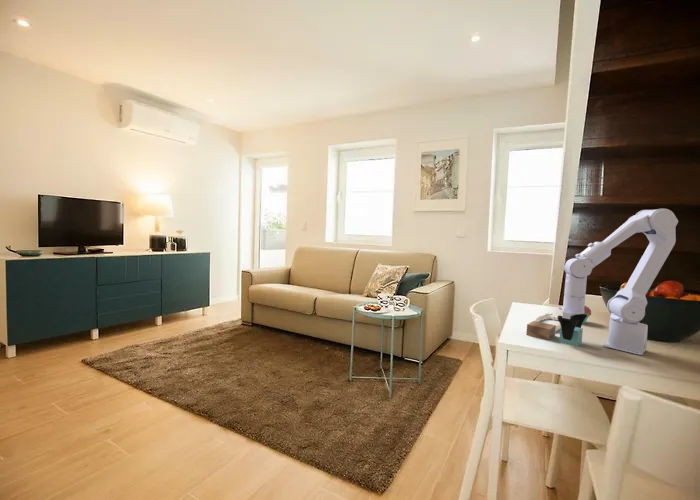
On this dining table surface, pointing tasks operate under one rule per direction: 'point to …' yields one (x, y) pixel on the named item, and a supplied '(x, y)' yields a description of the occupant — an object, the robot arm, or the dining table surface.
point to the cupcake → (587, 311)
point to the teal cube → (573, 337)
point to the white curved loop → (549, 316)
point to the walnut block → (541, 330)
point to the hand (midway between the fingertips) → (570, 336)
